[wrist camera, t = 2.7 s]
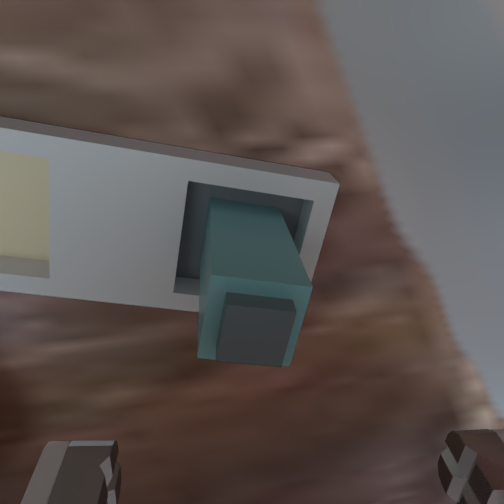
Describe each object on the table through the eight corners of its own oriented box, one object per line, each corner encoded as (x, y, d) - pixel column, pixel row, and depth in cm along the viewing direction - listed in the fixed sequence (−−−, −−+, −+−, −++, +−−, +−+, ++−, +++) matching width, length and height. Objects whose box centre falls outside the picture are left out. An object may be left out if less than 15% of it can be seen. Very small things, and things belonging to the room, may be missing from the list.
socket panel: (293, 303, 25) (299, 322, 24) (-82, 259, 22) (-107, 279, 20) (329, 172, 22) (339, 184, 20) (-107, 98, 19) (-140, 104, 17)
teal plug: (265, 268, 24) (293, 380, 16) (200, 260, 23) (196, 373, 15) (279, 207, 22) (318, 299, 14) (210, 197, 22) (212, 287, 14)
